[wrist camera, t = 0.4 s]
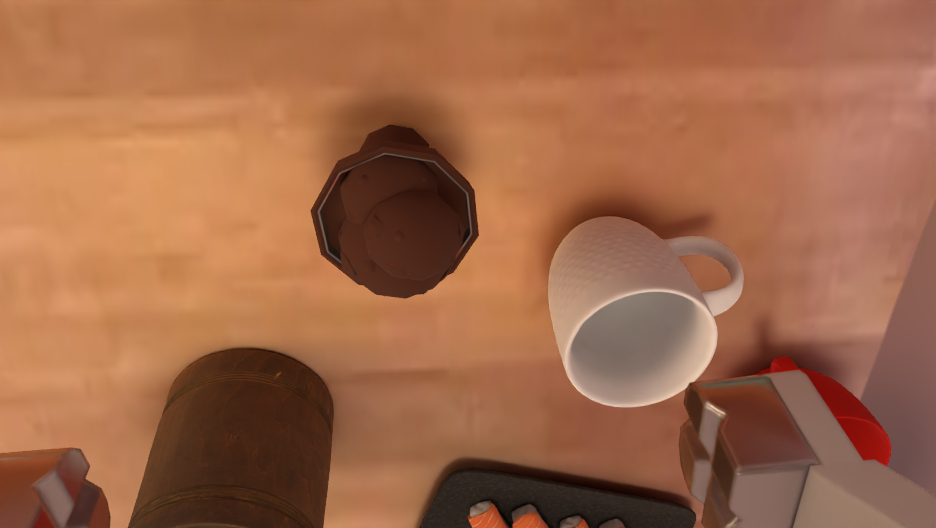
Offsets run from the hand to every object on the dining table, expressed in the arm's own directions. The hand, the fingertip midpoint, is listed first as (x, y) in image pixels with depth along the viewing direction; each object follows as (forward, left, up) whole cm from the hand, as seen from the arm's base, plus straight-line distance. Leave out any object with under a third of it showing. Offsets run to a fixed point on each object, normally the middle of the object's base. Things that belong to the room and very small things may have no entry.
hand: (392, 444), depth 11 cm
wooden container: (+42, -18, -46) cm, 65 cm away
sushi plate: (+70, +7, -46) cm, 85 cm away
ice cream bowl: (+18, -2, -46) cm, 50 cm away
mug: (+28, +15, -46) cm, 56 cm away
